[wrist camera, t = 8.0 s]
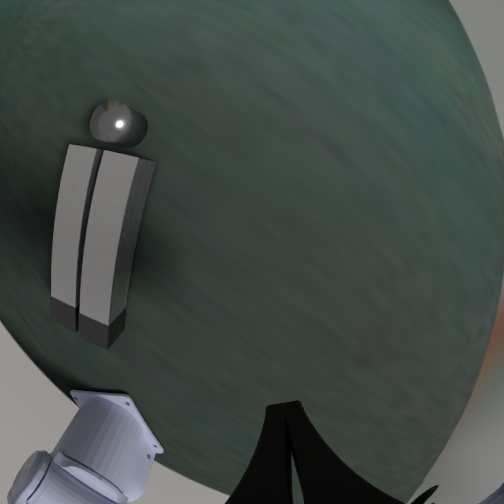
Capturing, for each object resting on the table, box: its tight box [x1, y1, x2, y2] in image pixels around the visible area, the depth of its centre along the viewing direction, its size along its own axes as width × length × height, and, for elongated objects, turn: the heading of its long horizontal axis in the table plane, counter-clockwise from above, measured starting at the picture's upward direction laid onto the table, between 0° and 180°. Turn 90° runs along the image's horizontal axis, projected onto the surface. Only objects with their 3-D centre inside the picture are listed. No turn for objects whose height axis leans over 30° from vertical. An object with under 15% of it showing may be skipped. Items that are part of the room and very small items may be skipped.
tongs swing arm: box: [79, 150, 156, 350], centre depth 16 cm, size 13×2×3 cm, turn 162°
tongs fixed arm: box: [50, 99, 148, 332], centre depth 15 cm, size 16×4×3 cm, turn 163°
